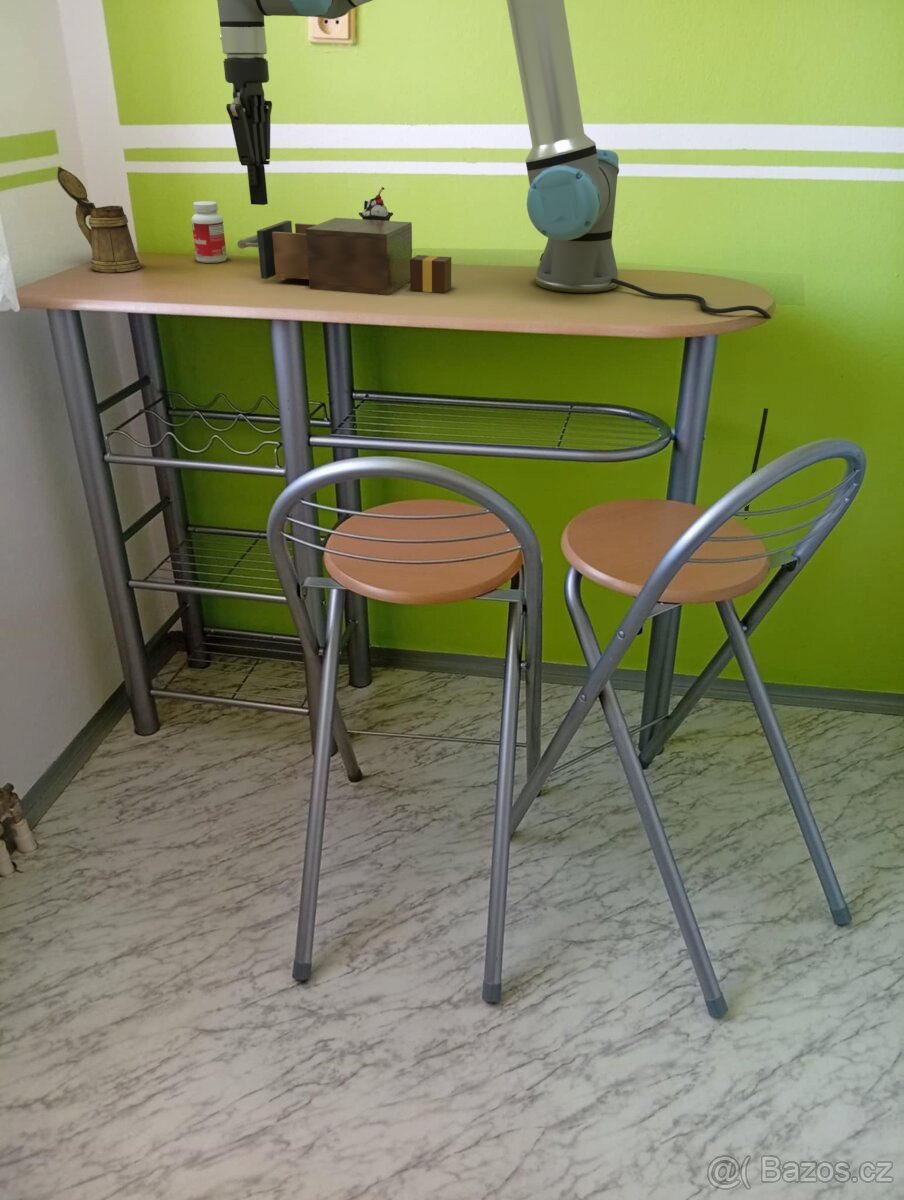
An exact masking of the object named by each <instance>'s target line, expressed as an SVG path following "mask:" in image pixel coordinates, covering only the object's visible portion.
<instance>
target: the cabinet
mask: <svg viewBox="0 0 904 1200" xmlns="http://www.w3.org/2000/svg"><path fill="white" fill-rule="evenodd" d="M306 240H307V255H308V271H309V279H308V283H309V284H308V286H309V289H310V290H322V291H334V292H345V293H346V292H347V293H357V294H369V295H371V294H372V295H381V296H383V295H385V296H389V295H391V294H392V293H394V292H395V291H397V290H399V289H400V288H402V287H403V286H405V285H407V284H408V283H410V259H411V258H413V223H412V221H396V220H390V221H382V220H365V219H362V218H348V217H333V218H331V219H328V220H326V221H324V222H320V223H318V224H316V225H315V226H312V227H310V228H307V229H306Z"/></svg>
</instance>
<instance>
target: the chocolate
mask: <svg viewBox="0 0 904 1200" xmlns="http://www.w3.org/2000/svg"><path fill="white" fill-rule="evenodd" d="M409 283H410V284H409V285H410V286H409V289H410V291H412V292H422V293H436V294H446V292H447V293H448V292H449V291H450V290H451V289H452V256H442V255H441V256H439V255H426V254H425V255H424V254H416V255H415V256H412V258H411V259H410V282H409Z"/></svg>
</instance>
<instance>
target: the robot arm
mask: <svg viewBox="0 0 904 1200" xmlns="http://www.w3.org/2000/svg"><path fill="white" fill-rule="evenodd" d="M216 1H217V9H218V11H217V12H218V18H219V28H220V29H219V30H220V35H219V39H220V41H221V49H222V53H223V55H226V58H224V60H223V61H222V62H223V69H224V71H223V72H224V79H225V82H226V83H228V84H232V99H233V101H232V102H231V103H226V106H225V107H226V112H227V114H228V116H229V119H230V124H231V128H232V133H233V137H234V142H235V146H236V151H237V156H238V161H239V163H240V165H241V166H244V167H246V169H247V179H248V180H247V182H248V189H249V198H250V199H249V200H250V205H255V206H257V205H258V206H264V205H269V201H268V191H267V180H266V169H265V165H267V166H269V165H270V163H271V161H270V158H271V115H272V109H273V102H272V100H266V98H265V91H264V87H263V84H266V83H268V82H269V81H270V74H269V61H268V60H267V58H265V55H267V54H268V48H267V47H268V46H267V38H266V37H267V36H266V28H265V17H271V16H272V17H273V16H274V17H275V16H277V17H279V16H281V17H307V18H308V17H313V18H324V19H327V20H335V19H337V18H342V17H344V16H346V15H347V14H349V12H351V10H354V9H356V8H358V7H360V6H362V5H364V4H367V3H370V2H372V1H373V0H216ZM565 5H566V4H565V0H506V6H507V10H508V17H509V21H510V22H509V23H510V28H511V32H512V39H513V45H514V50H515V56H516V62H517V67H518V74H519V79H520V85H521V90H522V96H523V102H524V107H525V113H526V118H527V124H528V130H529V136H530V141H531V149H530V150H529V153H528V154H527V156H526V158H525V167H526V172H527V178H528V183H529V188H528V190H527V196H526V210H527V214H528V218H529V220H530V222H531V223H532V225H533V226H534V228H535V229H536V230H537V231H538V232H539V233H540V234H541V235H543V236H544V237H546V238H547V242H546V244H545V247H544V250H543V252H542V254H541V256H540V257H539V264H538V267H537V270H536V274H535V284H536V285H537V286H538V287H541V288H543V289H546V290H550V291H554V292H555V291H556V292H563V293H574V294H575V293H576V294H584V293H585V294H586V293H587V294H591V293H601V292H608V291H612V290H614V289H616V288H617V287H618V286H621V287H625V288H627V289H629V290H633V291H635V292H638V293H640V294H642V295H645V296H648V297H653V298H657V299H689V300H695V301H699V302H700V308H701V309H702V310H703V311H705V312H708V313H711V314H729V313H734V312H740V311H752V312H755V313H759V314H760V315H762V316H763V317H764V319H768V320H769V319H772V317H771V315H770V314H769V312H767V310H765V309H764V308H761V307H759V306H756V305H750V304H749V305H738V306H732V307H725V308H716V307H715V308H714V307H710V306H708V305H706V300H705V298H704V297H703V296H700V295H696V294H691V293H661V292H654V291H649V290H647V289H644V288H642V287H639V286H637V285H635V284H632V283H629V282H626V281H623V280H619V271H618V266H617V262H616V257H615V252H614V247H613V242H612V241H613V231H614V230H613V229H614V218H615V207H616V198H617V197H616V195H617V184H618V176H619V173H620V167H619V159H620V158H619V155H618V154H617V152H615V151H614V150H609V149H600V148H599V149H598V148H597V143H596V141H594V140H593V139H592V138H590V137H589V136H587V134H586V133H585V129H584V123H583V116H582V109H581V102H580V97H579V89H578V83H577V77H576V71H575V70H576V69H575V63H574V57H573V50H572V45H571V44H572V43H571V37H570V31H569V25H568V19H567V12H566V7H565ZM768 412H769V408H765V407H764V408H763V412H762V418H761V422H760V429H759V433H758V439H757V443H756V449H755V454H754V459H753V463H752V468H751V473H750V475H751V474H752V473H754V472H755V471H756V472H757V469H758V464H759V460H760V455H761V450H762V445H763V441H764V437H765V435H764V434H765V430H766V424H767V419H768V414H769V413H768ZM750 504H751V503H750ZM750 504H749V505H748V506H746V507H745V506H744V510H743V512H744V511H748V512H749V509H750ZM744 520H745V521H746V520H748V517H747V518H745V519H744Z"/></svg>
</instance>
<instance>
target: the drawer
mask: <svg viewBox="0 0 904 1200" xmlns="http://www.w3.org/2000/svg"><path fill="white" fill-rule="evenodd" d="M315 225H317V224H315V223H300V222H299V223H298V222H296V223H294V229H295V232H293V224H292V220H284V221H281V222H278V223H275V224H272V225H270V226H266V227H263V228H262V229H257V230H256V234H254V235H251V236H249V237H245V238H243V239H239V240H238V241H237V243H236V244H237V247H238V248H239V249H241V250H244V249H246V248H248V247H251V248H257V249H258V260H259V271H260V279H262V280H268V279H270V278H272V277H274V276H275V277H276V278H284V279H285V278H286V279H287V278H288V279H297V280H299V279H300V280H309V271H308V255H307V240H306V229H307V228H310V227H312V226H315Z"/></svg>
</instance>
